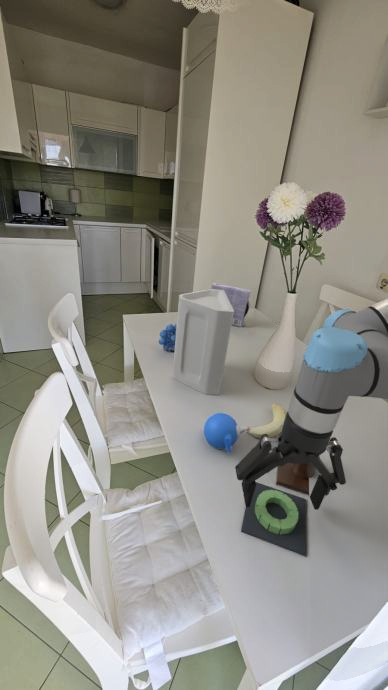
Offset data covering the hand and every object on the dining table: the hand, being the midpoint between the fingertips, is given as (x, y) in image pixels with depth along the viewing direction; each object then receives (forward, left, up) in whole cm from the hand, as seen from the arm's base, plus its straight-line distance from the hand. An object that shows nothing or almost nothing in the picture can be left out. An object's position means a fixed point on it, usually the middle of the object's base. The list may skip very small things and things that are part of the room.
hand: (280, 502), depth 60 cm
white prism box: (+31, -40, -4) cm, 51 cm away
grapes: (+44, -54, -4) cm, 70 cm away
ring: (0, 0, -4) cm, 4 cm away
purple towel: (+32, -92, -4) cm, 98 cm away
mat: (0, 0, -4) cm, 4 cm away
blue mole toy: (+14, -15, -4) cm, 21 cm away
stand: (-5, -13, -4) cm, 14 cm away
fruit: (+4, -27, -4) cm, 28 cm away
